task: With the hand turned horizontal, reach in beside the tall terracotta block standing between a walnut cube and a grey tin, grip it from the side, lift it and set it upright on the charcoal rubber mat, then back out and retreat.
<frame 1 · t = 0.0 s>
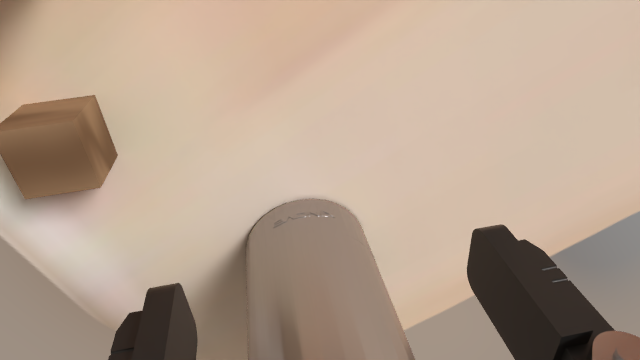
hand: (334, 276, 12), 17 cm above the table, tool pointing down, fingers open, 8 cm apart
walnut cube: (73, 130, 26), on the table
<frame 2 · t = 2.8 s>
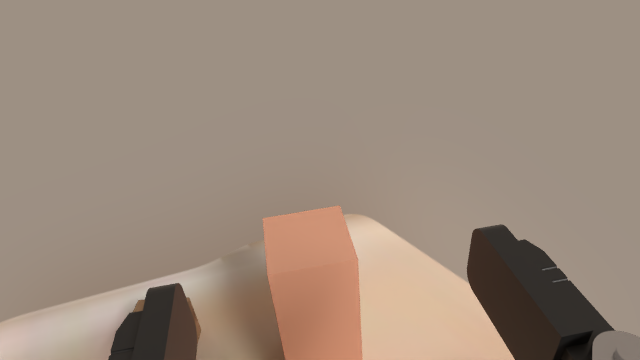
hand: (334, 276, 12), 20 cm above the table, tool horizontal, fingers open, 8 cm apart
terracotta block: (322, 358, 32), on the table
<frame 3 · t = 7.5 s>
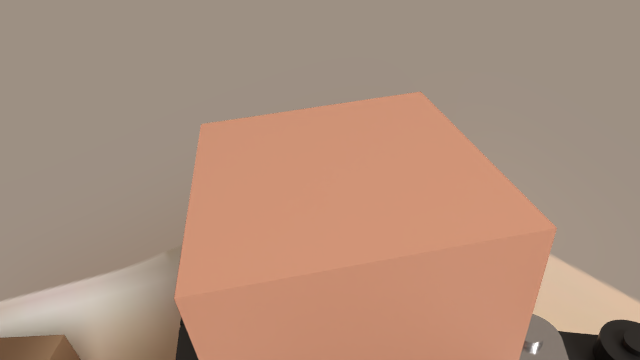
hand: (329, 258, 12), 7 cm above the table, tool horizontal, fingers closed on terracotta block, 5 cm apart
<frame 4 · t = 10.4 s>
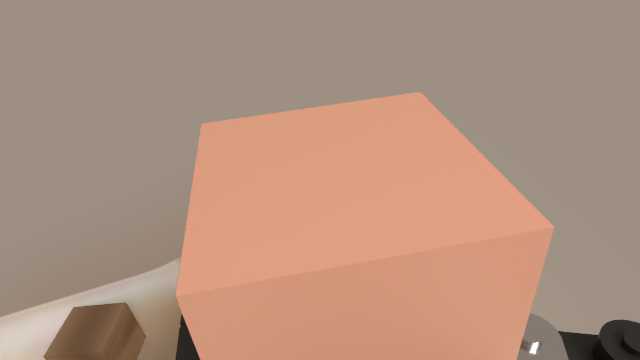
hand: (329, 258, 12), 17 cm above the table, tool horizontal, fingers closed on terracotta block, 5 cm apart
when the fingers open (9 cm above the table, at t = 13.6 s): terracotta block drops 1 cm, resting on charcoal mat.
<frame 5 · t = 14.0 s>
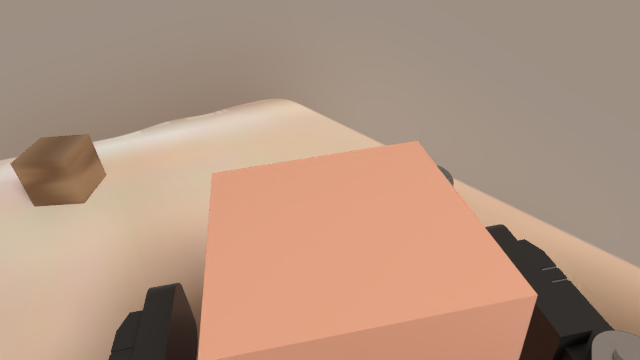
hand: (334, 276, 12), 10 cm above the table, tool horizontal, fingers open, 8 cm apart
walnut cube: (72, 190, 35), on the table
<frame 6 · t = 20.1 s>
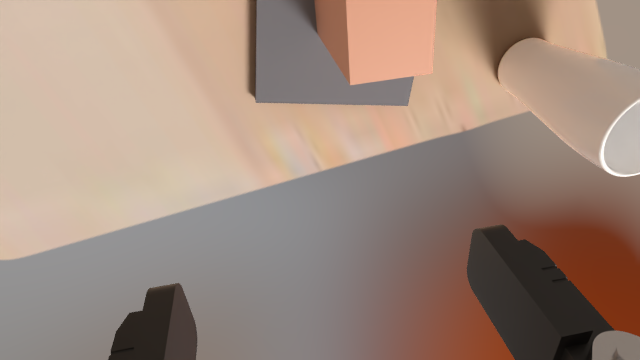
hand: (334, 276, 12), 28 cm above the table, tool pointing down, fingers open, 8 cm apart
drinking glass: (520, 63, 41), on the table
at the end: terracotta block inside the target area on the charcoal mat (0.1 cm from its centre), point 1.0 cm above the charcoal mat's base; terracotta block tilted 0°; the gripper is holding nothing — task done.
